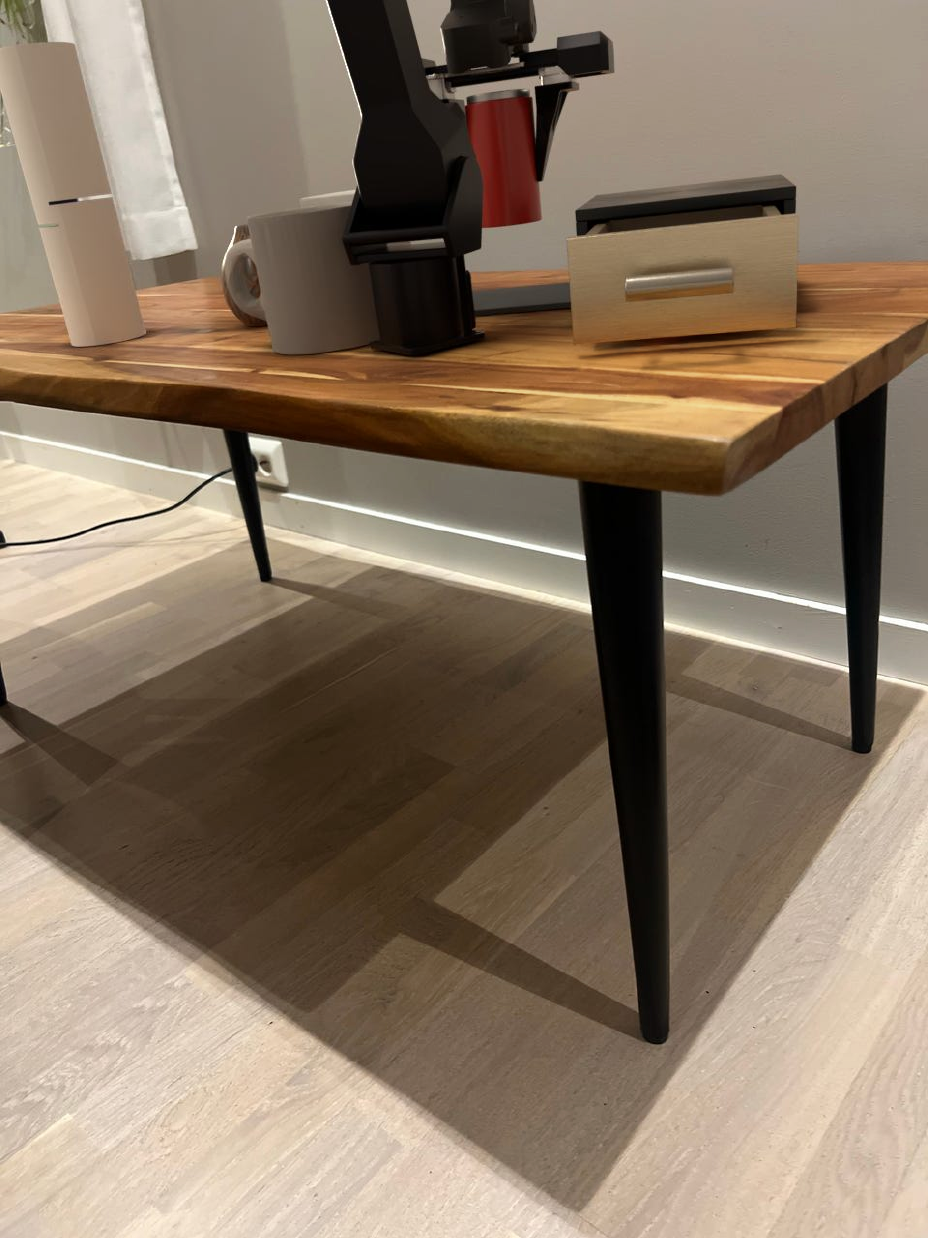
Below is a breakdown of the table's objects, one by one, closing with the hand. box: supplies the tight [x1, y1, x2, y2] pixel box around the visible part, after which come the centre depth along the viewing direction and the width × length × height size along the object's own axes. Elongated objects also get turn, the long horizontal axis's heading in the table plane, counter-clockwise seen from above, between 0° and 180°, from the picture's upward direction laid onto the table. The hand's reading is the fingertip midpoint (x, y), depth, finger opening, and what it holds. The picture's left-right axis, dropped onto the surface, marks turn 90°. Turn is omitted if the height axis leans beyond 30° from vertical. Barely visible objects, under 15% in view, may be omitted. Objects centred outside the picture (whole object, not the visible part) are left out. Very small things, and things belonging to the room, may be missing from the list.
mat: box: [472, 281, 571, 317], centre depth 88 cm, size 12×12×1 cm
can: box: [465, 88, 543, 229], centre depth 83 cm, size 6×6×10 cm
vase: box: [220, 223, 268, 327], centre depth 93 cm, size 7×7×9 cm
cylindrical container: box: [0, 41, 147, 348], centre depth 92 cm, size 7×7×25 cm
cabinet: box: [574, 174, 797, 236], centre depth 75 cm, size 15×15×8 cm
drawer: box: [566, 202, 800, 345], centre depth 64 cm, size 18×13×6 cm
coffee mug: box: [224, 202, 380, 355], centre depth 79 cm, size 13×10×10 cm
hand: (505, 185), depth 84 cm, fingers closed on can, 5 cm apart
